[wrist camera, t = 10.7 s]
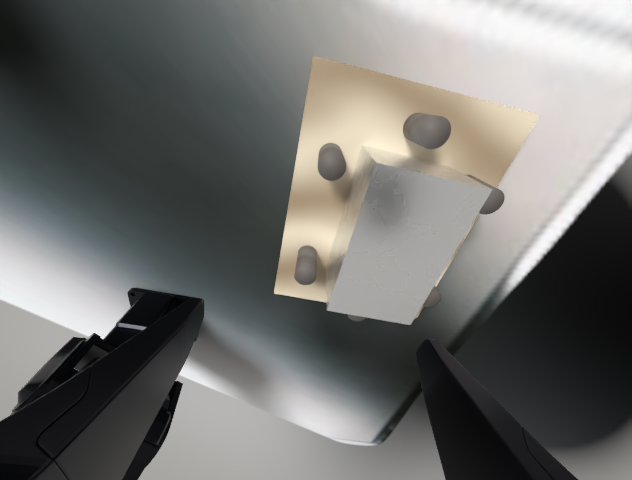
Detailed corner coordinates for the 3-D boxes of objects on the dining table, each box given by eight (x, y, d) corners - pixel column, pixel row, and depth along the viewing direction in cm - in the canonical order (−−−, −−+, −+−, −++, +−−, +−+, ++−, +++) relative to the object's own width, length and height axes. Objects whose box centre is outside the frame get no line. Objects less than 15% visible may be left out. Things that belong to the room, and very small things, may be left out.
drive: (392, 278, 21) (410, 325, 17) (325, 266, 21) (326, 310, 16) (447, 165, 16) (492, 189, 12) (361, 144, 16) (376, 162, 12)
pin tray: (412, 306, 25) (428, 345, 21) (276, 282, 24) (267, 318, 20) (522, 113, 16) (586, 118, 12) (314, 59, 15) (311, 45, 11)
